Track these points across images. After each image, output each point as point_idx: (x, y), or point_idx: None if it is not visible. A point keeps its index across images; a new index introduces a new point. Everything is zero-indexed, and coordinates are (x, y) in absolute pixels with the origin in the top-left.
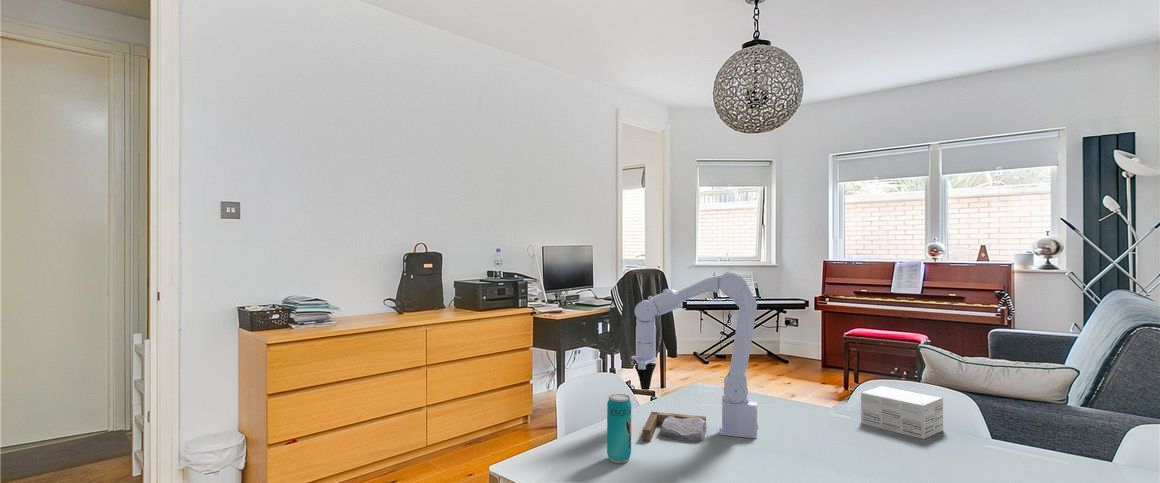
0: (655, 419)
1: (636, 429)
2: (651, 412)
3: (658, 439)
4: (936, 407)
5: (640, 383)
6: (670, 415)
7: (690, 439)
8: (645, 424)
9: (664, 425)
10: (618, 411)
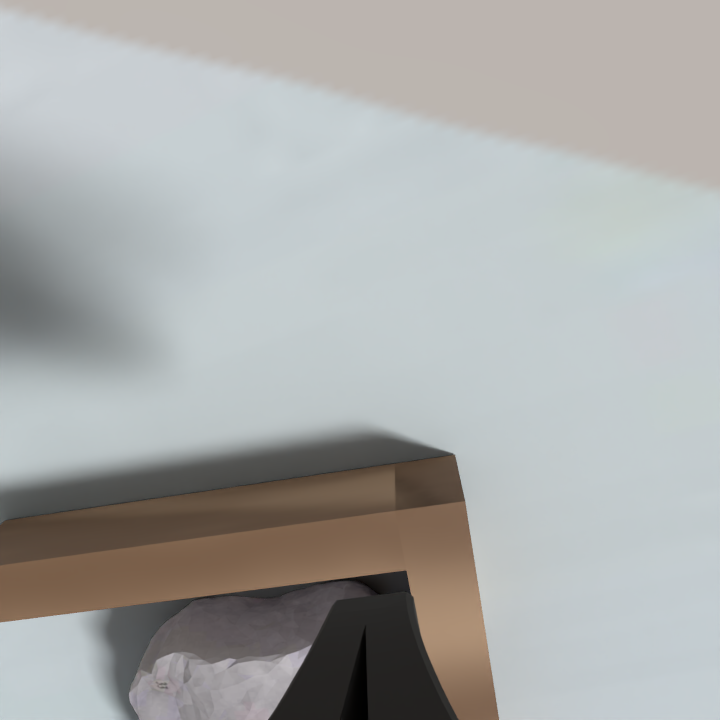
0: (272, 583)
1: (213, 401)
2: (439, 507)
3: None
4: None
5: (301, 667)
6: None
7: None
8: (76, 556)
9: (173, 673)
10: None
